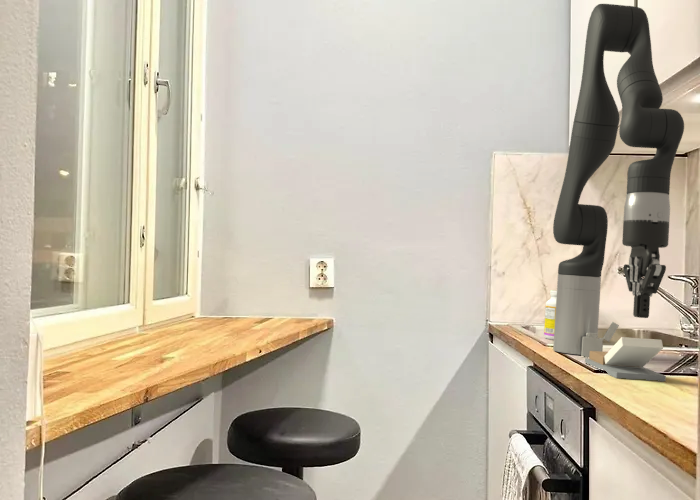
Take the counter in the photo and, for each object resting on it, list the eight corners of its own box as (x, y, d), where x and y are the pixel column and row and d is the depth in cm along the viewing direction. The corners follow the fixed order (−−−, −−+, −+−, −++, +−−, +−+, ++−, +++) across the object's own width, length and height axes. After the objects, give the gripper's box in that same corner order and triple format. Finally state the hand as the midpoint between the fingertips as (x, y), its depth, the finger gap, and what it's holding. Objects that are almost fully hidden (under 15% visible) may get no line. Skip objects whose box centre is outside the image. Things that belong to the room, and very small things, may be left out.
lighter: (581, 357, 147) (583, 319, 147) (581, 356, 149) (583, 319, 149) (616, 360, 145) (619, 322, 145) (616, 359, 147) (618, 322, 147)
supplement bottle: (569, 339, 184) (572, 291, 184) (570, 341, 178) (573, 292, 178) (543, 336, 186) (546, 289, 186) (543, 339, 179) (546, 290, 180)
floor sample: (584, 363, 137) (585, 350, 137) (627, 366, 137) (628, 353, 137) (616, 378, 120) (617, 363, 120) (665, 381, 120) (666, 366, 120)
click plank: (605, 364, 128) (604, 356, 128) (643, 366, 128) (641, 358, 128) (622, 345, 120) (621, 337, 121) (663, 348, 120) (661, 339, 121)
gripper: (611, 221, 129) (606, 313, 128) (640, 215, 116) (634, 318, 115) (651, 223, 129) (646, 316, 128) (685, 218, 115) (679, 321, 115)
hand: (641, 317), depth 122 cm, fingers closed
